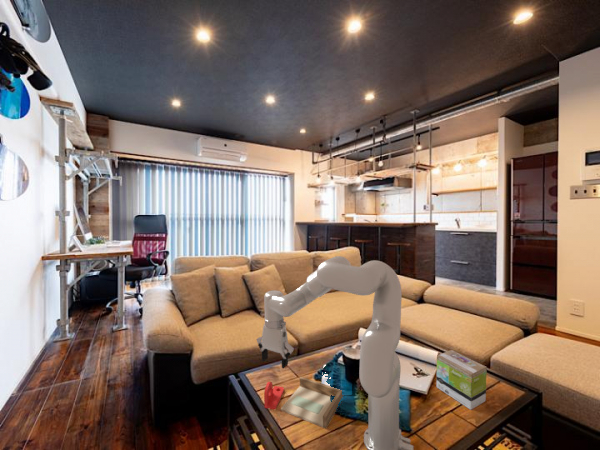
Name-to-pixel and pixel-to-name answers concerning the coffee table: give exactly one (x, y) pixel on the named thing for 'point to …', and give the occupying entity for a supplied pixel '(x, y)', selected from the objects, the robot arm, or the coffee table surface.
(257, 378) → the coffee table surface
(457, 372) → the tea box
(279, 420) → the coffee table surface
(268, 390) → the bracket
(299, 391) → the tray
